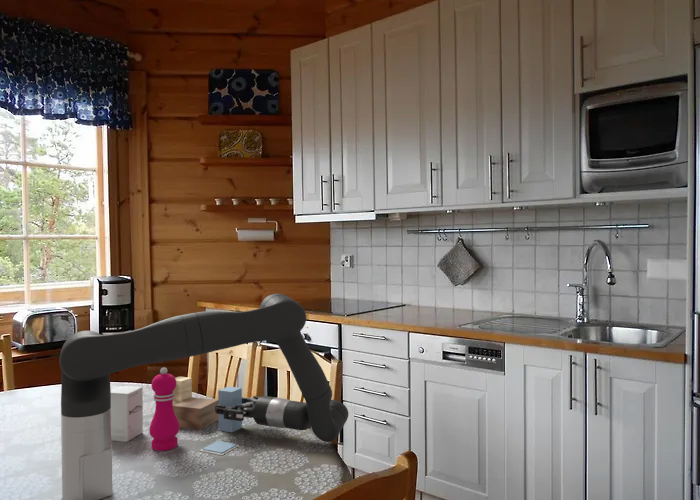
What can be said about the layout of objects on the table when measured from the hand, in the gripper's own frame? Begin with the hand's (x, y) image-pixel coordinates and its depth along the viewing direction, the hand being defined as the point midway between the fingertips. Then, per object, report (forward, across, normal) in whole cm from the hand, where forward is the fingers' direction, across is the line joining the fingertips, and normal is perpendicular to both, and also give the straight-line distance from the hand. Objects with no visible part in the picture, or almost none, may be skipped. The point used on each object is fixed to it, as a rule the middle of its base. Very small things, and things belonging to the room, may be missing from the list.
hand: (225, 404), depth 156 cm
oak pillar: (+19, -4, +6) cm, 21 cm away
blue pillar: (-1, 0, +6) cm, 7 cm away
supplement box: (+21, +17, +7) cm, 27 cm away
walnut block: (+11, 0, +7) cm, 13 cm away
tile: (-8, +13, +6) cm, 17 cm away
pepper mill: (+5, +18, +7) cm, 20 cm away
